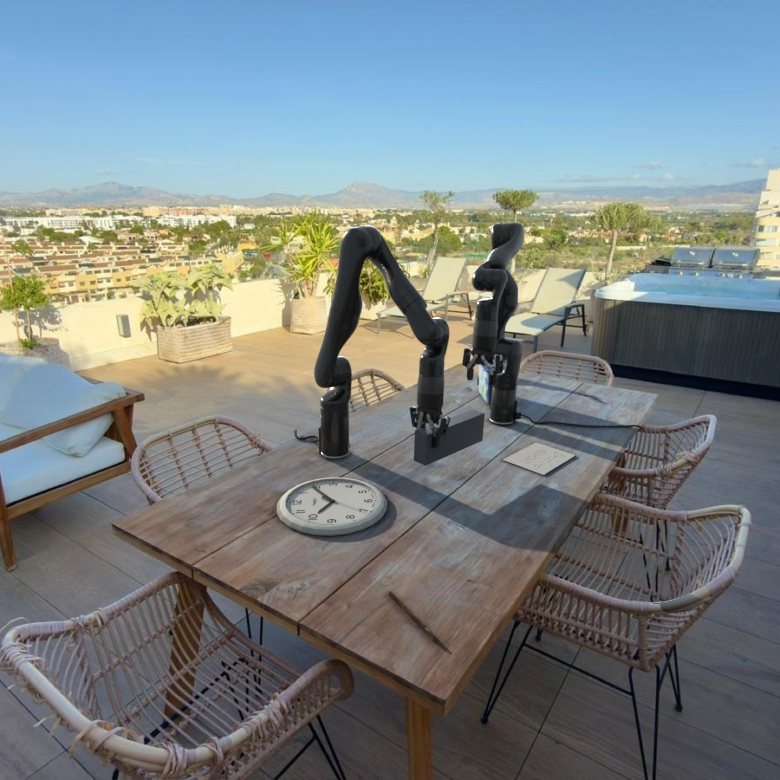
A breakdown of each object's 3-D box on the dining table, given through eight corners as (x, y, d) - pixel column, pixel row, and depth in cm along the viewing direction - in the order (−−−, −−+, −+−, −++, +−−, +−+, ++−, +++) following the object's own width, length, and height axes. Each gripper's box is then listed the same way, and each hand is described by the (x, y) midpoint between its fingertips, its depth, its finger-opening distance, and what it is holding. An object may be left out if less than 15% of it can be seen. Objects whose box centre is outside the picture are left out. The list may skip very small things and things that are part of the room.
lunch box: (475, 390, 246) (478, 346, 240) (498, 390, 246) (501, 347, 240) (484, 408, 221) (487, 360, 215) (509, 409, 221) (513, 360, 215)
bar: (470, 436, 172) (473, 409, 169) (482, 440, 169) (484, 413, 166) (413, 460, 153) (414, 430, 150) (425, 465, 150) (426, 435, 147)
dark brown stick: (388, 595, 108) (388, 591, 108) (390, 594, 108) (390, 590, 108) (433, 641, 96) (433, 637, 96) (435, 640, 96) (435, 636, 96)
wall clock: (392, 527, 129) (268, 531, 127) (391, 533, 130) (269, 537, 127) (383, 473, 158) (282, 475, 155) (383, 478, 158) (282, 480, 156)
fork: (599, 403, 231) (599, 398, 230) (577, 392, 245) (578, 388, 245) (604, 402, 231) (604, 398, 231) (582, 392, 246) (583, 387, 245)
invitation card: (535, 442, 186) (575, 454, 176) (535, 442, 187) (575, 455, 176) (502, 459, 172) (543, 474, 162) (502, 460, 172) (543, 475, 162)
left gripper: (403, 386, 150) (401, 441, 155) (441, 398, 140) (438, 456, 145) (420, 381, 155) (418, 434, 160) (458, 392, 145) (455, 449, 150)
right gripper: (459, 331, 167) (456, 380, 171) (496, 338, 157) (492, 389, 162) (474, 329, 172) (470, 376, 177) (510, 335, 162) (505, 385, 167)
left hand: (427, 444), depth 153 cm, fingers closed on bar, 4 cm apart
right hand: (480, 382), depth 169 cm, fingers open, 8 cm apart
